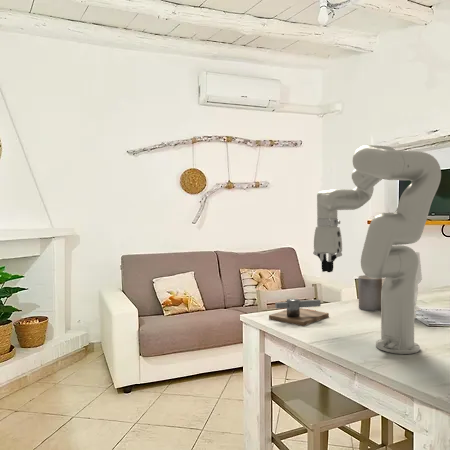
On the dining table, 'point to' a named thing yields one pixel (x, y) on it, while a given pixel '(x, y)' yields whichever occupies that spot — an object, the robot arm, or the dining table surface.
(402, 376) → the dining table surface
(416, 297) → the beer glass
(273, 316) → the dial stand
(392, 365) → the dining table surface
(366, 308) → the pillar candle
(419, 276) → the champagne flute
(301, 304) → the capstan
